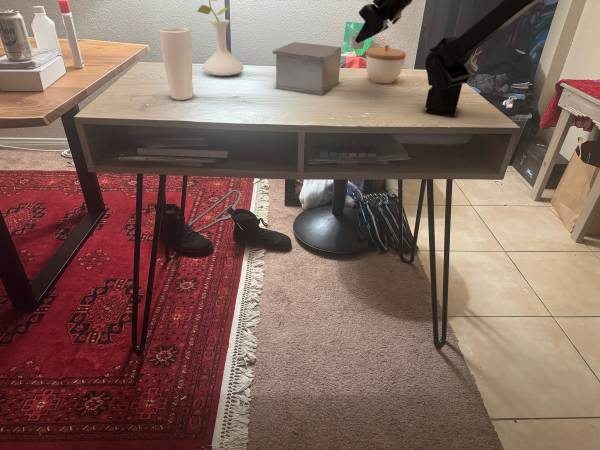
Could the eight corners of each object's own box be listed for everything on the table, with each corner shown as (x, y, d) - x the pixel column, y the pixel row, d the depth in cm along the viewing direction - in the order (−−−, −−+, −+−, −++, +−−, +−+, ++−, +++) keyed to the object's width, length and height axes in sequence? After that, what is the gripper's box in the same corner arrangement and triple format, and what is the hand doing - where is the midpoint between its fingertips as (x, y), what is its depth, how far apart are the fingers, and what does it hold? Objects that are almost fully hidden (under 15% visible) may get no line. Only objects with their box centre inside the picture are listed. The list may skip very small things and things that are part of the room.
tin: (276, 88, 111) (276, 54, 107) (296, 76, 122) (297, 45, 117) (321, 95, 108) (323, 60, 103) (338, 82, 118) (341, 50, 114)
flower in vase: (251, 72, 124) (248, -28, 110) (228, 81, 115) (221, -26, 102) (215, 66, 129) (207, -31, 115) (190, 74, 120) (179, -29, 107)
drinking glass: (181, 91, 106) (174, 25, 98) (202, 96, 103) (196, 29, 95) (161, 98, 101) (151, 29, 93) (182, 103, 98) (174, 33, 90)
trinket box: (402, 87, 116) (408, 50, 111) (362, 84, 117) (366, 47, 112) (400, 77, 125) (406, 42, 120) (363, 74, 126) (367, 40, 121)
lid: (272, 54, 107) (272, 50, 107) (294, 45, 118) (294, 41, 117) (323, 60, 103) (323, 56, 103) (341, 50, 114) (341, 47, 113)
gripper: (391, -41, 101) (346, 11, 111) (369, -39, 87) (320, 21, 97) (422, -4, 103) (375, 44, 112) (405, 4, 88) (353, 59, 98)
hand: (356, 41), depth 105 cm, fingers closed
